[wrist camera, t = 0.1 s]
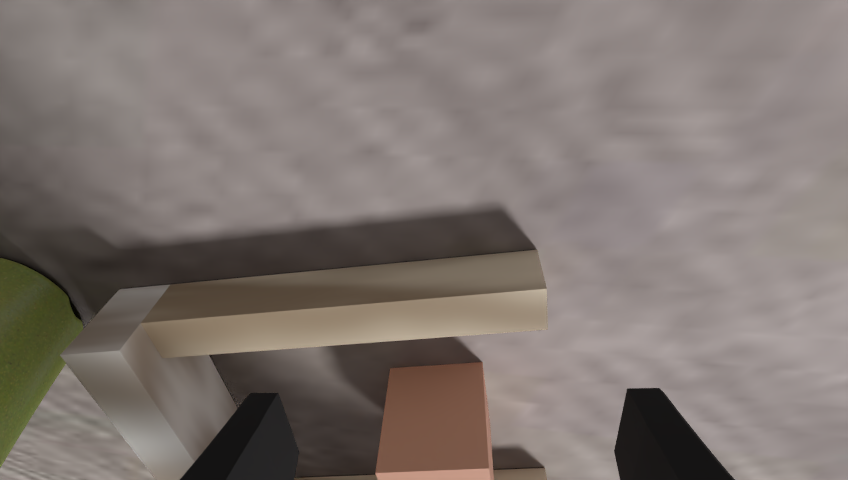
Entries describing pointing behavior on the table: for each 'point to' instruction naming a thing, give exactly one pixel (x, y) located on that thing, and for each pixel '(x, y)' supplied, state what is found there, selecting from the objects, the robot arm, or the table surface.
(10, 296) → the plant pot
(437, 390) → the block
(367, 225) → the table surface
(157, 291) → the wooden u-shaped frame
